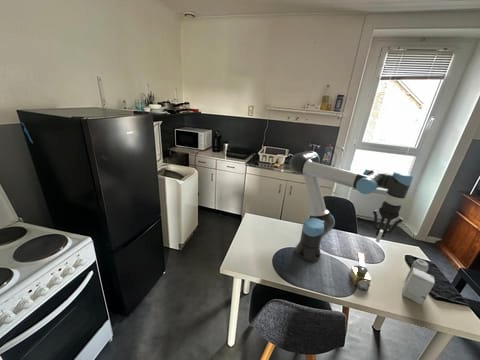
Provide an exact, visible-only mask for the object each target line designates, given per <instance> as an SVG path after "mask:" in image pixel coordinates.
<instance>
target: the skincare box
mask: <svg viewBox="0 0 480 360" xmlns="http://www.w3.org/2000/svg"><path fill="white" fill-rule="evenodd" d="M434 285H435V276H433V275H432V274H428V273H427V272H426V273H425V272H423V271H420V270H418V269H416V268H413V270H412V272H411V274H410V275H409V277H408V279H407V281H406V280H405V283H404V285H403V287H402V292H401V296H402V297H405V298H407V299H409V300H411V301H414V302H415V303H417V304H419V305H421V306H422V305H423V304H424V302H425V300H426V298H427V297H428V295H429V293H430V292H431V290H432V288H433V287H434Z"/></svg>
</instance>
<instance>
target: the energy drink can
mask: <svg viewBox="0 0 480 360" xmlns="http://www.w3.org/2000/svg"><path fill="white" fill-rule="evenodd" d="M413 268H416V269H418V270H420V271H423V272H425V273H427V272H428V270H429V263H428V262H427V261H426V260H424V259H420V258H417V259H416V260H414V261H413V263H412V265H411V267H410V269H409V272H408V274H407V276H406V278H405V282H406V281H407V279H408V277H409V275H410V274H411V272H412V270H413Z"/></svg>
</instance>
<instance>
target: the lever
mask: <svg viewBox="0 0 480 360" xmlns="http://www.w3.org/2000/svg"><path fill="white" fill-rule="evenodd" d="M357 261H358V266H359V267H358V269H357V271H358V272H359V273H360V274H362V275H366V274H367V272H368V269H367V267H366V265H365V254H364V253H361V252H358V253H357Z"/></svg>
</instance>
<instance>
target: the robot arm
mask: <svg viewBox="0 0 480 360" xmlns="http://www.w3.org/2000/svg"><path fill="white" fill-rule="evenodd" d="M320 161H321V158H320V156H319V154H318V153H317V152H315V151H314V150H313V151H312V150H305V151H303V152H299V153H296V154H295V153H294V155H293V156H292V157H291V158H290V161H289V166H290V168H291V170H292V171H293V172H295V174H299V175H301V176H302V177H303V181H304V183H305V188H306V192H307V195H308V199H309V203H310V209H311V213H310V217H309V218H306V219H305V220H304V221H303V224H302V229H301V235H300V239H299V242H298V243H297V245H296V246H295V251H294V252H295V255H296V254H297V255H296V256H297V257H298V258H299V259H300V260H302V261H304V262H306V263H316V262H319V261H320V258H321V248H320V246H321V242H322V238H324V237H325V235H327V234H328V233H329V232H331V231H332V229H333V228H334V227H335V222H336V221H335V218H334V216H333V215H332V214H331V212H330V210H328V209H327V208H326V204H325V199H324V195H323V191H322V187H321V183H320V179H322V180H325V181H328V182H333V183H336V184H339V185H343V186H345V187H349V188H352V189H356V190H357V191H358V192H359V194H362V195H370V194H372V193H374V192H375V191H377V190H378V188H382V189H386V190H387V191H386V193H385V195H384V197H383V199H384V200H382V204H381V206H380V207H379V209H373V211H372V213H373V217H374V218H373V229H376V231H375V236H376V238H375V242H377V243H380V241H381V238H385V235H386V234H387V233H388V234H391V233H392V231H394V229H395V228H396V227H397V226H398V225H399V224H401V223H402V222H403V221H404V219H403V217H401V216H400V213H399V212H400V210H401V208H402V205H403V204H404V201H405V199H406V195H407V193H408V191H409V189H410V187H411V184H412V183H413V182H412V181H413V179H414V178H413V175H412V174H410V173H409V172H408V173H407V172H406V171H397V170H396V171H394V172H393V173H392V174H390V173H387V172H382V171H379V170H376V169H371V168H366V169H365V170H364V172H363V173H358V172H354V171H350V170H347V169H343V168H339V167H334V166H331V165H327V164H322V163H320ZM378 215H380V217H381V219H380V221H379V224H378ZM385 219H387V220H386V222H385ZM394 219H396V220H394ZM393 220H394V222H393V223H392V224H391V221H393ZM384 222H385V225H384ZM390 224H391V225H390ZM383 225H384V228H383V229H381V228H382V227H383ZM389 226H390V227H389Z"/></svg>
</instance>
